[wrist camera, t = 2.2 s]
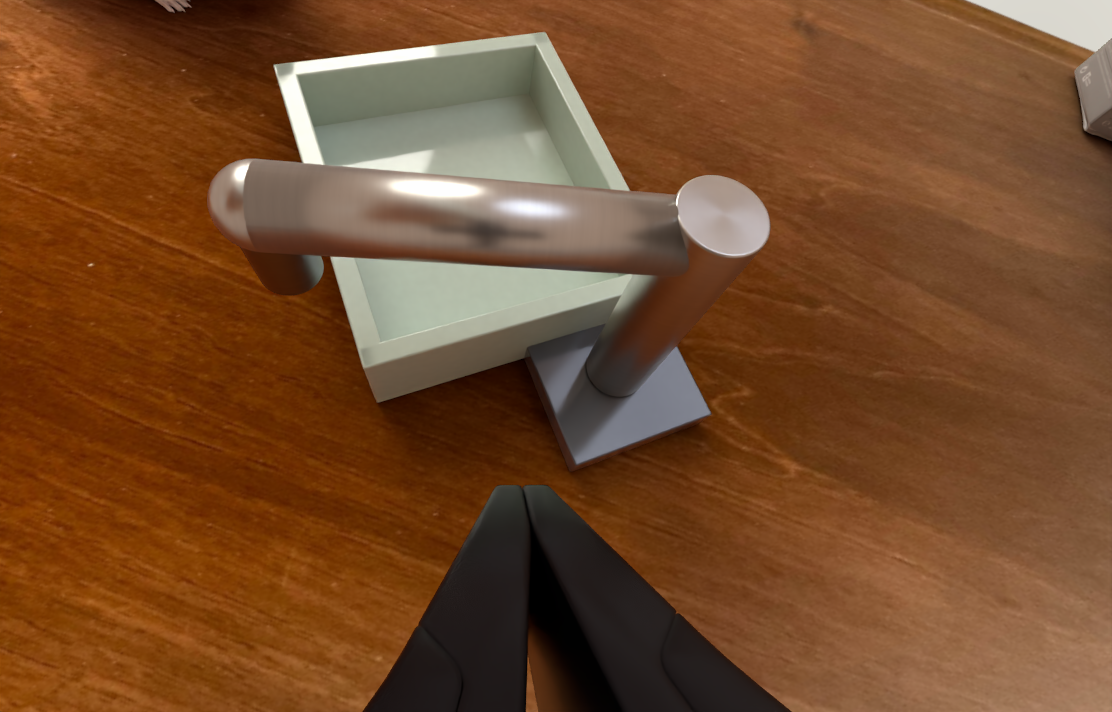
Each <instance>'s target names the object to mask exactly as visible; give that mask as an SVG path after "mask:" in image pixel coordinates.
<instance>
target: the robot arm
mask: <svg viewBox="0 0 1112 712" xmlns="http://www.w3.org/2000/svg"><path fill="white" fill-rule="evenodd" d="M527 658H529V663H530V669H531V674H532V679H533V685H534V690H535V696H536V701H537V707H538V712H791V711H790V710H789V709H788V708H786V707H785V706H784V705H783V704H782V703H780V702H779V701H778V700H777V699H775V698H774V697H773V696H772V695H770V694H769V693H768V692H767V691H765V690H764V689H763V688H762V687H761V686H759V685H758V684H757V683H756V682H755V681H753V680H752V679H751V678H750V677H749V676H748V675H746V674H745V673H744V672H743V671H742V670H740V669H739V668H738V667H737V666H736V665H734V664H733V663H732V662H731V661H730V660H729V659H727V658H726V657H725V656H724V655H723V654H722V653H721V652H720V651H719V650H718V649H716V648H715V647H714V646H713V645H712V644H711V643H710V642H709V641H708V640H707V639H706V638H705V637H704V636H702V635H701V634H700V633H699V632H698V631H697V630H696V629H695V628H694V627H693V626H692V625H691V624H690V623H689V622H688V621H687V620H686V619H685V618H684V617H683V616H682V615H681V614H679V613H677V614H676V610H675V609H674V608H673V607H672V606H671V605H670V604H669V603H668V602H667V601H666V600H665V599H664V598H663V597H662V596H661V595H660V594H659V593H658V592H657V591H656V590H655V589H654V588H653V587H652V586H651V585H650V584H648V583H647V582H646V581H645V580H644V579H643V578H642V577H641V576H640V575H639V574H638V573H637V572H636V571H635V570H634V569H633V568H632V567H631V566H630V565H629V564H628V563H627V562H626V561H625V560H624V559H623V558H622V557H621V556H620V555H619V554H618V553H617V552H616V551H615V550H614V549H613V548H612V547H611V546H609V545H608V544H607V543H606V542H605V541H604V540H603V539H602V538H601V537H600V536H599V535H598V534H597V533H596V532H595V531H594V530H593V529H592V528H591V527H590V526H589V525H588V524H587V523H586V522H585V521H584V520H583V519H582V518H581V517H580V516H579V515H578V514H577V513H576V512H575V511H574V510H573V509H572V508H570V507H569V506H568V505H567V504H566V503H565V502H564V501H563V500H562V499H561V498H560V497H559V496H558V495H557V494H556V493H555V492H554V491H553V490H552V489H551V488H550V487H549V486H547V485H525V486H523V488H521V487H520V486H519V485H498V486H496V487H495V489H494V490H493V492H492V494H491V496H490V497H489V499H488V501H487V503H486V504H485V506H484V508H483V510H482V512H481V513H480V515H479V517H478V519H477V520H476V522H475V524H474V526H473V527H472V529H471V531H470V533H469V535H468V536H467V538H466V540H465V542H464V543H463V545H462V547H461V549H460V551H459V552H458V554H457V556H456V558H455V559H454V561H453V563H452V565H451V567H450V568H449V570H448V572H447V574H446V575H445V577H444V579H443V581H442V582H441V584H440V586H439V588H438V590H437V591H436V593H435V595H434V597H433V598H432V600H431V602H430V604H429V606H428V607H427V609H426V611H425V613H424V614H423V616H422V618H421V620H420V622H419V624H418V626H417V627H416V628H415V630H414V632H413V633H412V635H411V637H410V639H409V640H408V642H407V644H406V646H405V648H404V649H403V651H402V653H401V654H400V656H399V657H398V659H397V661H396V662H395V664H394V666H393V667H392V669H391V670H390V672H389V674H388V675H387V677H386V679H385V680H384V682H383V683H382V685H381V686H380V687H379V689H378V690H377V692H376V693H375V695H374V696H373V697H372V699H371V700H370V702H369V703H368V704H367V706H366V707H365V709H364V710H363V712H526V686H527Z"/></svg>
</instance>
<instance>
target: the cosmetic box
mask: <svg viewBox="0 0 1112 712" xmlns="http://www.w3.org/2000/svg"><path fill="white" fill-rule="evenodd" d="M1075 79H1076V84H1077V88H1078V92H1079V96H1080V101H1081V110H1082V116H1083V128H1084V131H1086V132H1088V133H1090V134H1092V135H1097V136H1100V137H1102V138H1105V139H1107V140H1110V141H1112V39H1110V40H1109V41H1108V42H1107V43H1106V44H1105V45H1103V46H1102V47H1101V48H1100V49H1099V50H1098V51H1096V52H1095V53H1094V54H1093V55H1092V56H1091V57H1089V58H1088V59H1087V60H1086V61H1085V62H1084V63H1082V64H1081V65H1080V66H1079V67H1078V68H1077V69H1076V70H1075Z"/></svg>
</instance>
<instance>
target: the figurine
mask: <svg viewBox="0 0 1112 712" xmlns="http://www.w3.org/2000/svg"><path fill="white" fill-rule="evenodd" d="M155 1H156V2H158V3H159V4H161V5H162V6H163V7H165V8H166V9H167V11H169V12H174V10H173V9H172V8H171V7H170V5H171V6H172V7H174V8H175V9H176V10H178V11H184V12H185V10H184V9H183V8H182V7H181V6H183V7H185V8H187V7H190V8H192V7H191V6H190V5H189V4H188V3H187V2H186V1H187V0H155ZM188 1H190V0H188ZM179 4H180V5H181V6H180V5H179ZM174 13H175V12H174Z"/></svg>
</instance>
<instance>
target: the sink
mask: <svg viewBox="0 0 1112 712" xmlns="http://www.w3.org/2000/svg"><path fill="white" fill-rule="evenodd" d="M274 71H275V74H276V77H277V81H278V84H279V87H280V91H281V94H282V97H283V101H284V104H285V108H286V111H287V114H288V118H289V121H290V124H291V128H292V131H293V134H294V138H295V141H296V145H297V148H298V151H299V155H300V158H301V161H302V163H310V164H322V165H333V166H345V167H357V168H368V169H380V170H392V171H403V172H415V173H427V174H438V175H450V176H462V177H474V178H485V179H497V180H509V181H520V182H532V183H544V184H555V185H567V186H579V187H590V188H602V189H614V190H625V191H630V190H629V188H628V186H627V184H626V182H625V180H624V179H623V177H622V175H621V173H620V171H619V169H618V167H617V165H616V164H615V162H614V160H613V158H612V156H611V154H610V152H609V150H608V149H607V147H606V145H605V143H604V141H603V139H602V137H601V135H600V134H599V132H598V130H597V128H596V126H595V124H594V122H593V120H592V119H591V117H590V115H589V113H588V111H587V109H586V107H585V105H584V104H583V102H582V100H581V98H580V96H579V94H578V92H577V90H576V89H575V87H574V85H573V83H572V81H571V79H570V77H569V75H568V74H567V72H566V70H565V68H564V66H563V64H562V62H561V60H560V59H559V57H558V55H557V53H556V51H555V49H554V47H553V45H552V44H551V42H550V40H549V38H548V36H547V34H546V33H545V32H540V33H532V34H524V35H516V36H507V37H499V38H491V39H482V40H474V41H466V42H457V43H449V44H441V45H433V46H424V47H416V48H408V49H399V50H391V51H383V52H375V53H366V54H358V55H350V56H341V57H333V58H325V59H316V60H308V61H300V62H292V63H283V64H275V65H274ZM330 259H331V262H332V266H333V269H334V272H335V276H336V279H337V283H338V286H339V289H340V293H341V296H342V299H343V303H344V306H345V310H346V313H347V316H348V320H349V323H350V326H351V330H352V333H353V336H354V340H355V343H356V347H357V350H358V353H359V357H360V360H361V363H362V367H363V370H364V372H365V375H366V377H367V380H368V382H369V385H370V387H371V390H372V392H373V395H374V397H375V400H376V402H377V403H379V402H382V401H385V400H389V399H392V398H395V397H398V396H402V395H405V394H408V393H412V392H415V391H418V390H421V389H425V388H428V387H431V386H434V385H438V384H441V383H444V382H448V381H451V380H454V379H457V378H461V377H464V376H467V375H470V374H474V373H477V372H480V371H484V370H487V369H490V368H493V367H497V366H500V365H503V364H506V363H510V362H513V361H516V360H520V359H523V358H524V360H525V362H526V365H527V367H528V370H529V372H530V375H531V377H532V380H533V382H534V385H535V387H536V390H537V392H538V394H539V397H540V399H541V402H542V404H543V407H544V409H545V412H546V414H547V417H548V419H549V422H550V424H551V427H552V429H553V432H554V434H555V436H556V439H557V441H558V444H559V446H560V449H561V451H562V454H563V456H564V459H565V461H566V464H567V466H568V469H569V471H570V472H573V471H575V470H578V469H581V468H583V467H586V466H588V465H591V464H594V463H596V462H599V461H602V460H604V459H607V458H609V457H612V456H615V455H617V454H620V453H623V452H625V451H628V450H630V449H633V448H636V447H638V446H641V445H644V444H646V443H649V442H651V441H654V440H657V439H659V438H662V437H665V436H667V435H670V434H672V433H675V432H678V431H680V430H683V429H686V428H688V427H691V426H693V425H696V424H699V423H701V422H702V421H703V420H705V419H706V418H708V417H709V416H710V415H711V412H710V410H709V408H708V406H707V404H706V402H705V400H704V398H703V396H702V394H701V392H700V390H699V388H698V386H697V384H696V382H695V380H694V378H693V376H692V374H691V372H690V370H689V368H688V366H687V365H686V363H685V361H684V359H683V357H682V355H681V353H680V351H679V349H678V347H677V346H676V347H675V348H674V349H673V350H672V352H671V353H670V354H669V355H668V356H667V357H666V358H665V360H664V361H663V362H662V363H661V364H660V365H659V366H658V368H657V369H656V370H655V371H654V372H653V373H652V374H651V376H650V377H649V378H648V379H647V380H646V381H645V382H644V384H643V385H642V386H641V387H640V388H639V389H638V390H637V391H636V392H634V393H633V394H631V395H628V396H623V397H615V396H610V395H608V394H605V393H603V392H602V391H600V390H599V389H598V388H596V386H595V385H594V384H593V383H592V382H591V380H590V378H589V376H588V373H587V358H588V356H589V353H590V352H591V350H592V348H593V346H594V344H595V342H596V341H597V339H598V337H599V335H600V333H601V332H602V330H603V328H604V326H605V324H606V322H607V321H608V319H609V317H610V315H611V313H612V312H613V310H614V308H615V306H616V304H617V302H618V301H619V299H620V297H621V295H622V293H623V291H624V290H625V288H626V286H627V284H628V282H629V281H630V279H631V277H632V275H633V274H616V273H599V272H582V271H566V270H549V269H532V268H515V267H498V266H481V265H465V264H448V263H431V262H414V261H397V260H380V259H364V258H347V257H330Z"/></svg>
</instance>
